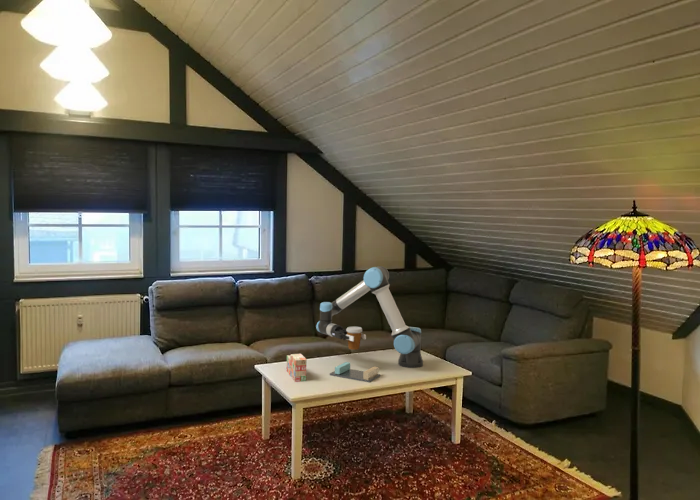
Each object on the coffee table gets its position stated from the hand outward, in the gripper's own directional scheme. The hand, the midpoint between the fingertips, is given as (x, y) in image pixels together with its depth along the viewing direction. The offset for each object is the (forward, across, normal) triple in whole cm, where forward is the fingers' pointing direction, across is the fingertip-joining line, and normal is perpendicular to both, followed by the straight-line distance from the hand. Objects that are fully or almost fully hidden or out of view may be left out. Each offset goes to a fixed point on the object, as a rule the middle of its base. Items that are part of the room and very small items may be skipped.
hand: (359, 338), depth 321 cm
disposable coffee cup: (-5, 0, -7) cm, 9 cm away
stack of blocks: (-15, +33, -21) cm, 42 cm away
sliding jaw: (-4, +8, -19) cm, 21 cm away
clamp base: (+3, +5, -20) cm, 21 cm away
